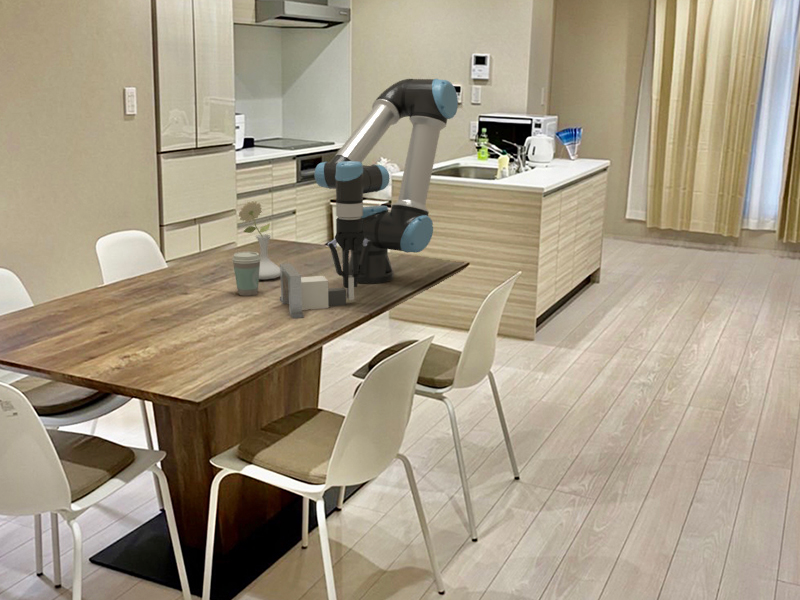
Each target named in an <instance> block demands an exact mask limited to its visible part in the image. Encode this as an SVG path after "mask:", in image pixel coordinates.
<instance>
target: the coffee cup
mask: <svg viewBox="0 0 800 600" xmlns="http://www.w3.org/2000/svg"><path fill="white" fill-rule="evenodd" d="M260 261H261V257H260V253H259V252H257V251H256V252H255V251H239V252H235V253H234V254H233V256H232V260H231V262H232V264H233V269H234V270H233V271H234V277H235V284H236V289H237V294H238V295H240V296H246V297H247V296H255V295H257V294H258V293H259V292H258V291H259V281H260V279H259V269H260Z"/></svg>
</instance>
